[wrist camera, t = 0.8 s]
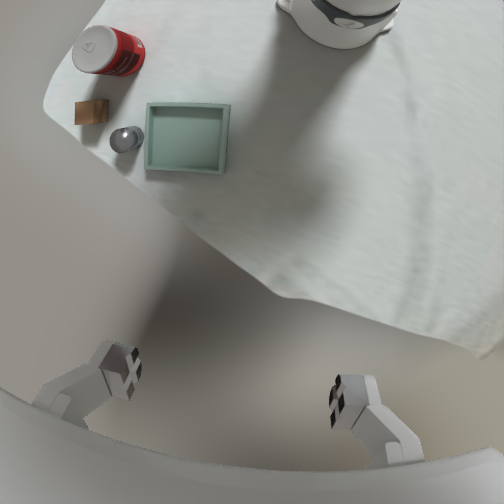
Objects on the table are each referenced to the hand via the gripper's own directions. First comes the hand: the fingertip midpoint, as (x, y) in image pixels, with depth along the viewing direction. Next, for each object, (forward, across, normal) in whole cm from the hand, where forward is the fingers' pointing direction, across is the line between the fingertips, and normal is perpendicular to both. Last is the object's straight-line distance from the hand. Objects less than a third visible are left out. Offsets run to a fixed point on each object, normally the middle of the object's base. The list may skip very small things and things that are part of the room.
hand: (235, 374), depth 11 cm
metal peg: (+41, +24, -4) cm, 48 cm away
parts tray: (+41, +14, -4) cm, 44 cm away
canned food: (+42, +26, -19) cm, 53 cm away
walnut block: (+41, +31, -9) cm, 53 cm away
